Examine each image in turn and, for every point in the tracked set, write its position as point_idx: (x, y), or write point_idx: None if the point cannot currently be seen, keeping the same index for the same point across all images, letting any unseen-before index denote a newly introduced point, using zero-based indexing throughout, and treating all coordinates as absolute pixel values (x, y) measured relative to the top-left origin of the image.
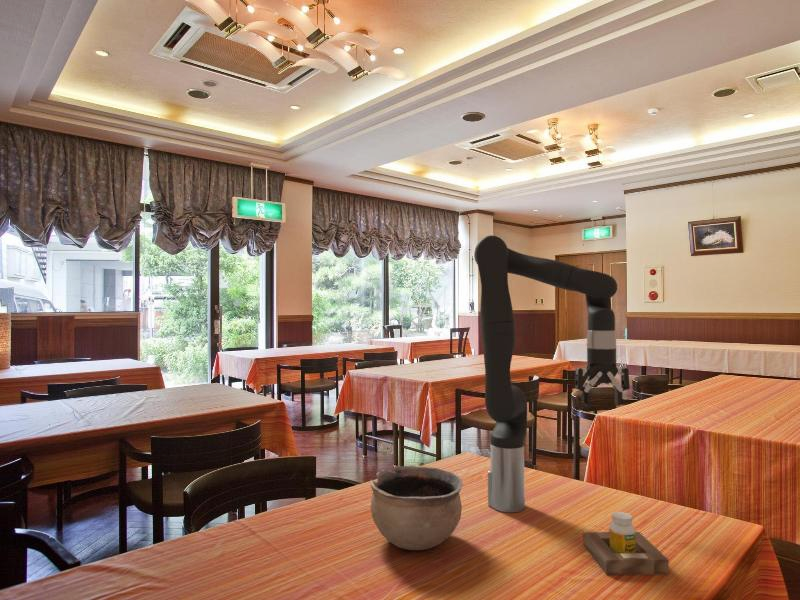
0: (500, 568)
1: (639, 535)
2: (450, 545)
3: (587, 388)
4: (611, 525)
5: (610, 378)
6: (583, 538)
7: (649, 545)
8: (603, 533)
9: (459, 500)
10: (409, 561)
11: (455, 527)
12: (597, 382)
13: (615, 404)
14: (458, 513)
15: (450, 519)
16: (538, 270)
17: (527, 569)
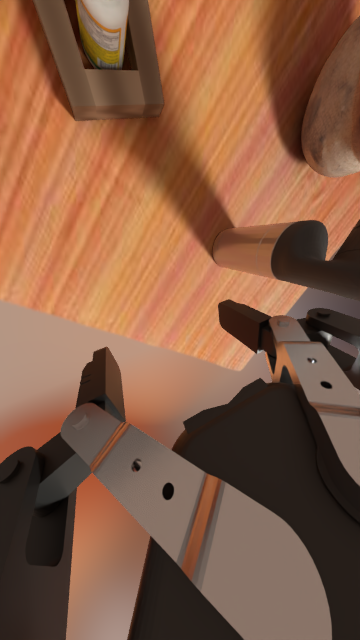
0: (262, 24)
1: (70, 83)
2: (293, 116)
3: (288, 328)
4: None
5: (201, 477)
6: (161, 109)
7: (46, 11)
8: (134, 97)
9: (354, 60)
10: None
11: (323, 70)
12: (270, 384)
13: (116, 363)
14: (343, 51)
15: (357, 22)
16: None
17: (235, 14)
